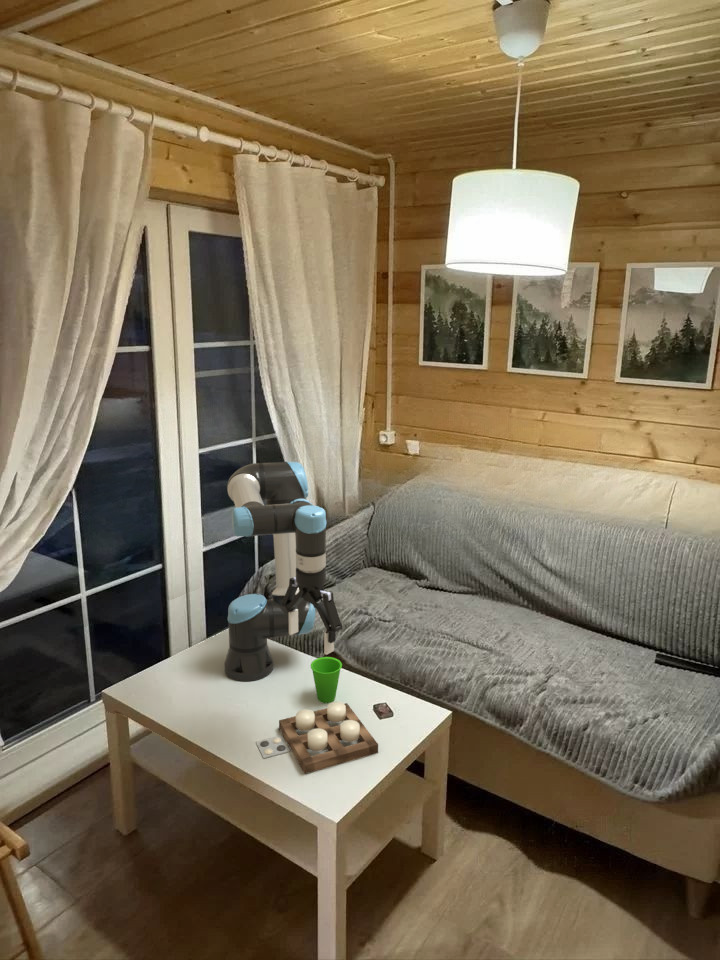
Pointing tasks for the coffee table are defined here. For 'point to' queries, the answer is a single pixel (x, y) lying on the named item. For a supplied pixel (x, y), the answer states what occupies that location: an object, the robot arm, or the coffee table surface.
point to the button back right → (305, 720)
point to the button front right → (317, 739)
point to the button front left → (349, 730)
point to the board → (334, 746)
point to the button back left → (336, 712)
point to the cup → (326, 677)
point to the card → (272, 747)
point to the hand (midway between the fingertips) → (310, 642)
